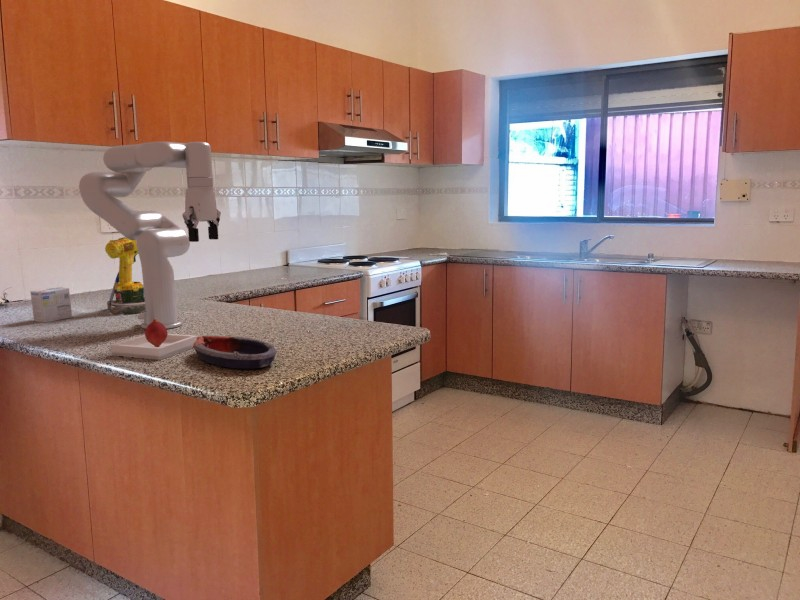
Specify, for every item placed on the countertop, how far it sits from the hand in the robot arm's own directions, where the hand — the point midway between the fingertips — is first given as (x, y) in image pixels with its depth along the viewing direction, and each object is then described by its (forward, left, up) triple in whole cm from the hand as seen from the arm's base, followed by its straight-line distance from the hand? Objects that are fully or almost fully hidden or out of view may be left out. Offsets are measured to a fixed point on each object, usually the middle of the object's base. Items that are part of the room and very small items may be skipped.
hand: (204, 240), depth 200 cm
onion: (+2, -26, -28) cm, 38 cm away
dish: (+29, -30, -29) cm, 50 cm away
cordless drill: (-52, +26, -29) cm, 65 cm away
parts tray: (+2, -27, -28) cm, 39 cm away
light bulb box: (-67, +2, -29) cm, 73 cm away
